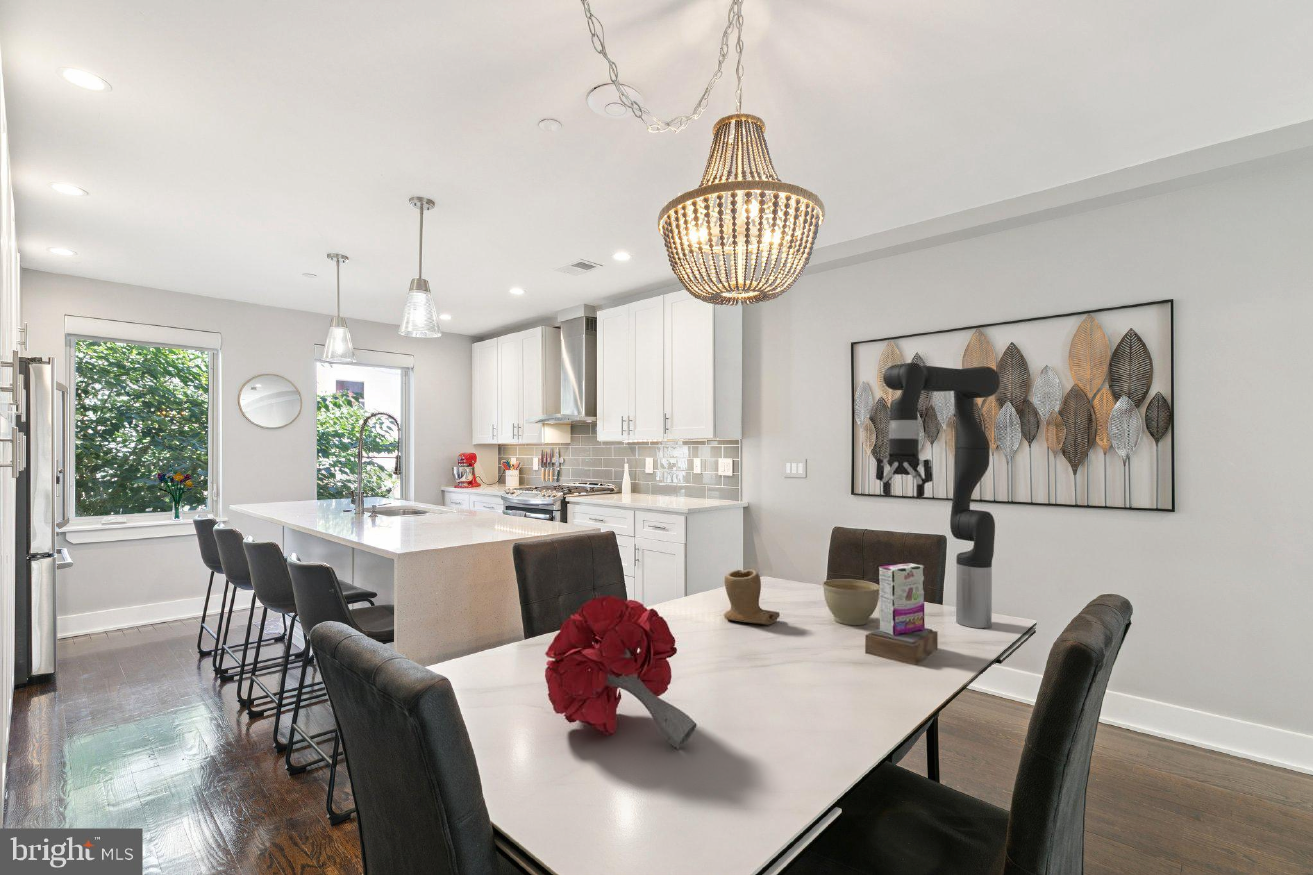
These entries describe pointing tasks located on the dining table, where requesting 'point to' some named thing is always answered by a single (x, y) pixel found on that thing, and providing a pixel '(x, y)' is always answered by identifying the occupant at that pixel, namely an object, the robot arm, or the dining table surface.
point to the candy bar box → (901, 598)
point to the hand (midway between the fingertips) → (903, 497)
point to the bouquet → (614, 666)
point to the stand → (902, 645)
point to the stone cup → (746, 598)
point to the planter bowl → (851, 600)
